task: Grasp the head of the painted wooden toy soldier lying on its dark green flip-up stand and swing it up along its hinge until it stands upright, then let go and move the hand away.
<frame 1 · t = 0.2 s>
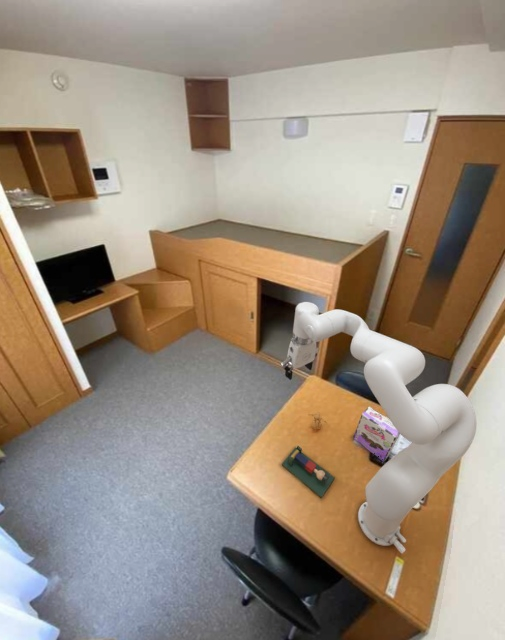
hand: (298, 372, 106), 31 cm above the table, tool pointing down, fingers open, 9 cm apart
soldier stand: (293, 461, 109), on the table
candy box: (371, 446, 115), on the table
toy soldier: (309, 466, 103), point 4 cm above the table, hinge at 0.0°
figurine: (315, 429, 121), on the table
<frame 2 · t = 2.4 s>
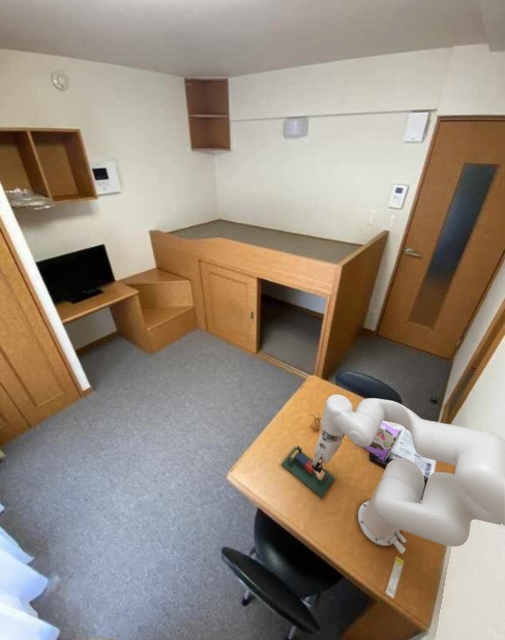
hand: (323, 459, 96), 14 cm above the table, tool pointing down, fingers open, 9 cm apart
nothing on the table moved.
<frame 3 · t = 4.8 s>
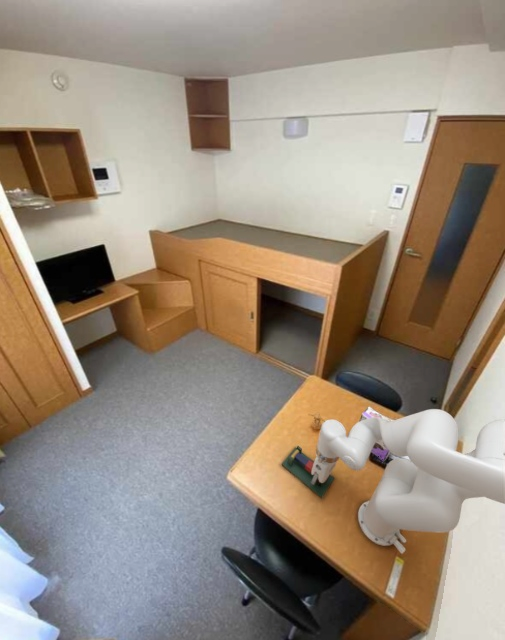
hand: (319, 479, 102), 2 cm above the table, tool pointing down, fingers closed on toy soldier, 3 cm apart
toy soldier: (309, 466, 103), point 4 cm above the table, hinge at 0.0°, touching gripper
everything else where it was.
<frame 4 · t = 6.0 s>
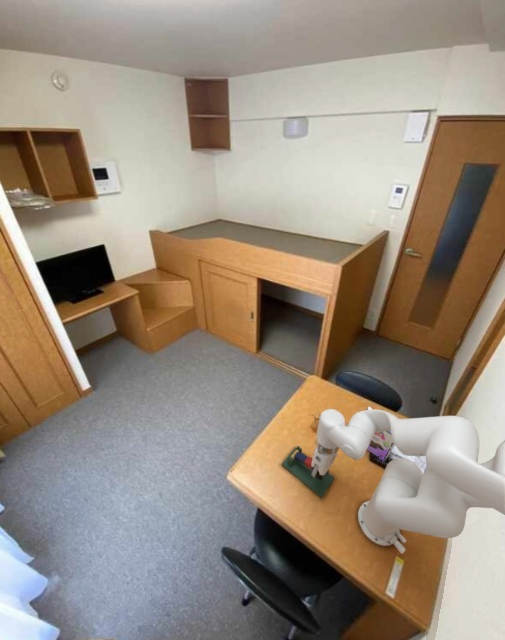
hand: (320, 472, 100), 6 cm above the table, tool pointing down, fingers closed on toy soldier, 3 cm apart
toy soldier: (309, 462, 102), point 7 cm above the table, hinge at 18.9°, touching gripper
everything else where it was.
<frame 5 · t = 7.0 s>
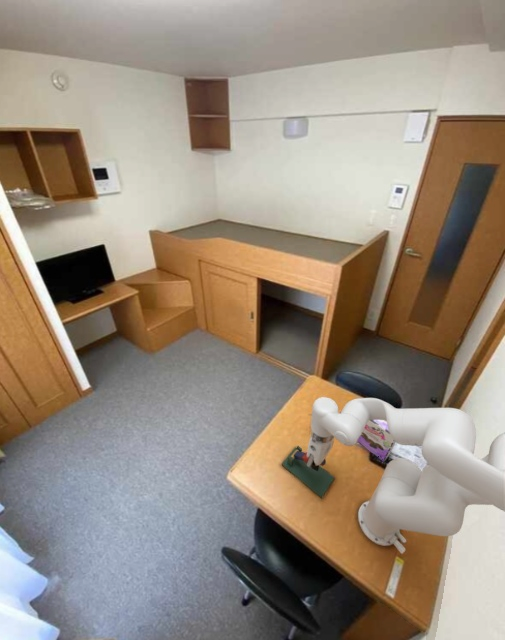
hand: (317, 463, 99), 9 cm above the table, tool pointing down, fingers closed on toy soldier, 3 cm apart
toy soldier: (307, 457, 101), point 8 cm above the table, hinge at 37.3°, touching gripper
everything else where it was.
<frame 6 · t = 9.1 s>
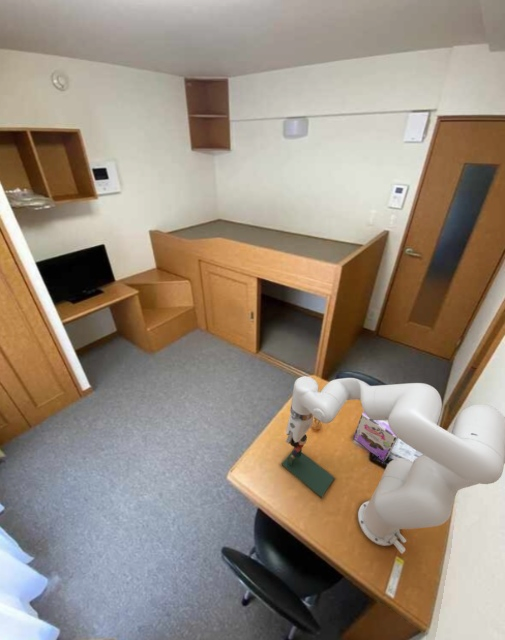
hand: (296, 441, 102), 13 cm above the table, tool pointing down, fingers closed on toy soldier, 3 cm apart
toy soldier: (298, 446, 102), point 11 cm above the table, hinge at 81.0°, touching gripper
everything else where it was.
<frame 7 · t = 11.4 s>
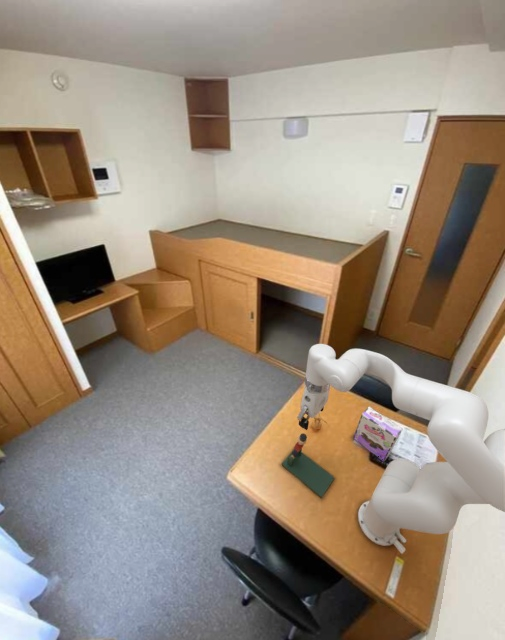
hand: (311, 417, 94), 27 cm above the table, tool pointing down, fingers open, 9 cm apart
toy soldier: (298, 446, 102), point 11 cm above the table, hinge at 81.1°
everything else where it was.
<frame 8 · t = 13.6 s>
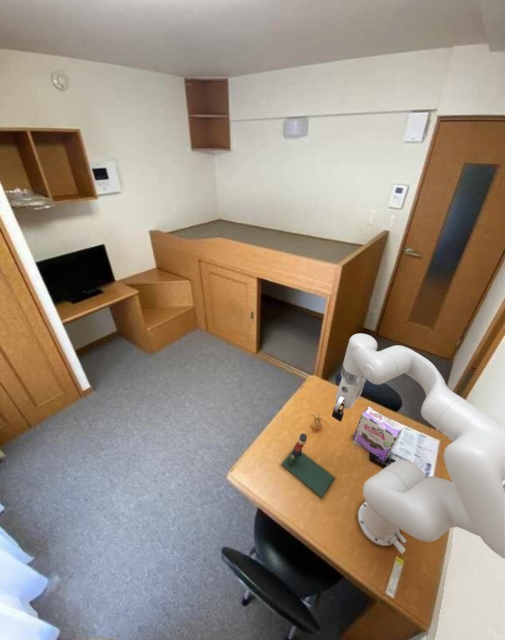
hand: (343, 409, 93), 30 cm above the table, tool pointing down, fingers open, 9 cm apart
nothing on the table moved.
at the end: toy soldier at +81° (first picture: +0°); the gripper is holding nothing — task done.
